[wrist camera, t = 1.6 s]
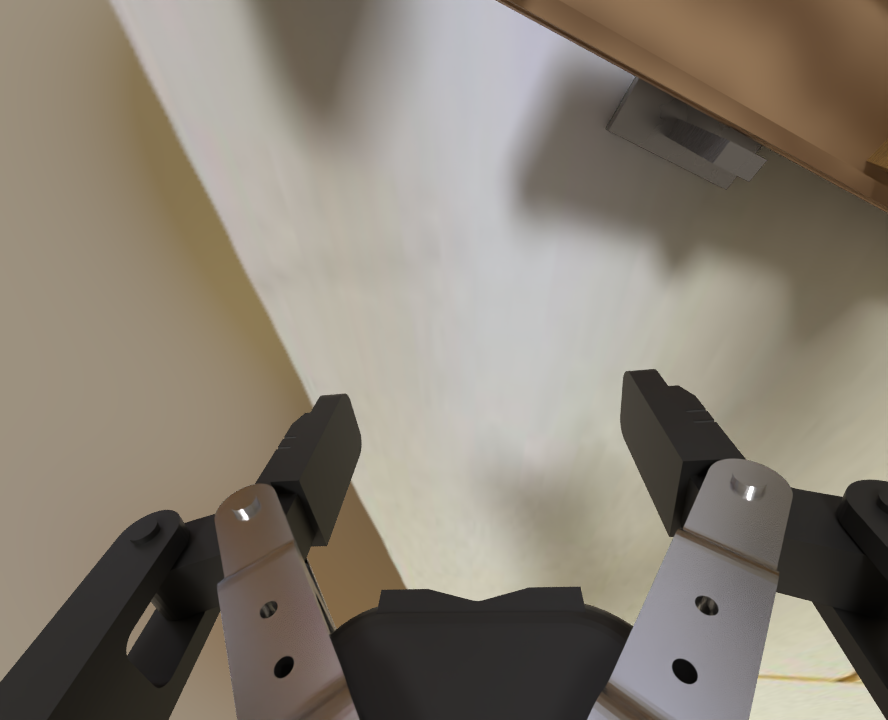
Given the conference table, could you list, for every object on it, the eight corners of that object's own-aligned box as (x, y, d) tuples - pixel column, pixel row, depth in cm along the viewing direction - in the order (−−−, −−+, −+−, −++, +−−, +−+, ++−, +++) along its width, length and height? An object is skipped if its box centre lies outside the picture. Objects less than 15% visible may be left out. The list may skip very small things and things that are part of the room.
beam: (572, -293, 15) (607, -358, 12) (1124, 149, 25) (1206, 166, 23) (478, -10, 19) (487, -11, 17) (976, 261, 30) (1029, 286, 28)
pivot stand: (767, -154, 22) (900, -251, 14) (913, -58, 23) (1101, -103, 16) (605, 128, 30) (638, 156, 23) (720, 186, 31) (785, 228, 24)
